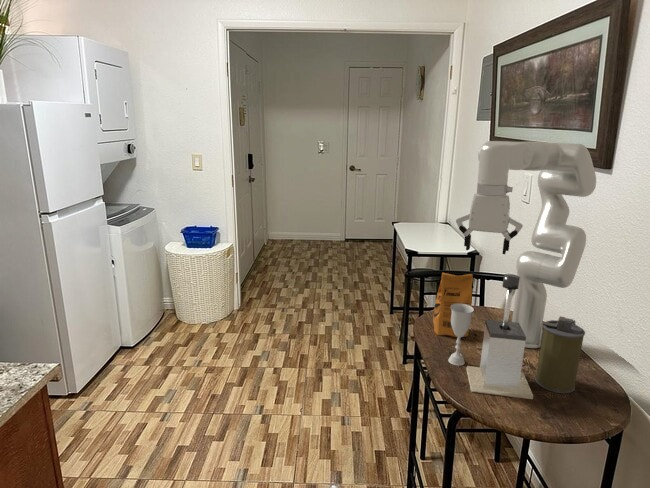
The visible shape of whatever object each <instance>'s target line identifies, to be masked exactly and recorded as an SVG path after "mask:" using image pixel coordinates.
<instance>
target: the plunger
mask: <svg viewBox="0 0 650 488" xmlns="http://www.w3.org/2000/svg"><path fill="white" fill-rule="evenodd" d="M519 280H520V277H519V276H517V274H513V273H505V274H504V275H503V279H502V287H503V288H505V289H506V294H505V295H506V296H505V297H506V298H505V304H504V311H503V320H502V321H503V326H502V329H503V330H508V323H509V322H510V321H509V320H510V314H511V306H512V299H513V293H514V290H515V291H516V289H518V288H519Z"/></svg>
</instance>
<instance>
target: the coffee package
mask: <svg viewBox="0 0 650 488" xmlns="http://www.w3.org/2000/svg"><path fill="white" fill-rule="evenodd" d="M473 276H474V275H473V273H470V274H463V275H455V274H450V273H447V272H446V273H445V272H442V273H441V280H440V283H439V287H438V289H437V290H438V291H437V293H436V299H435V304H434V308H433V314H432V315H433V316H432V317H433V318H432V323H433V327H434V328H433V331H434V333H435V334H436V335H437V336H450V337H453V338H457V336H456V335H455V334H454V331H453V329H452V325H451V314H452V310H451V305H452V304H457V303H459V304H466V305H469V306H471V307H472V302H473V283H474V277H473ZM469 333H470V328H469V329H468V330H467V332H466V333H465V335H464V336H463V337H468V336H469ZM463 337H462V338H463Z"/></svg>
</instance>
